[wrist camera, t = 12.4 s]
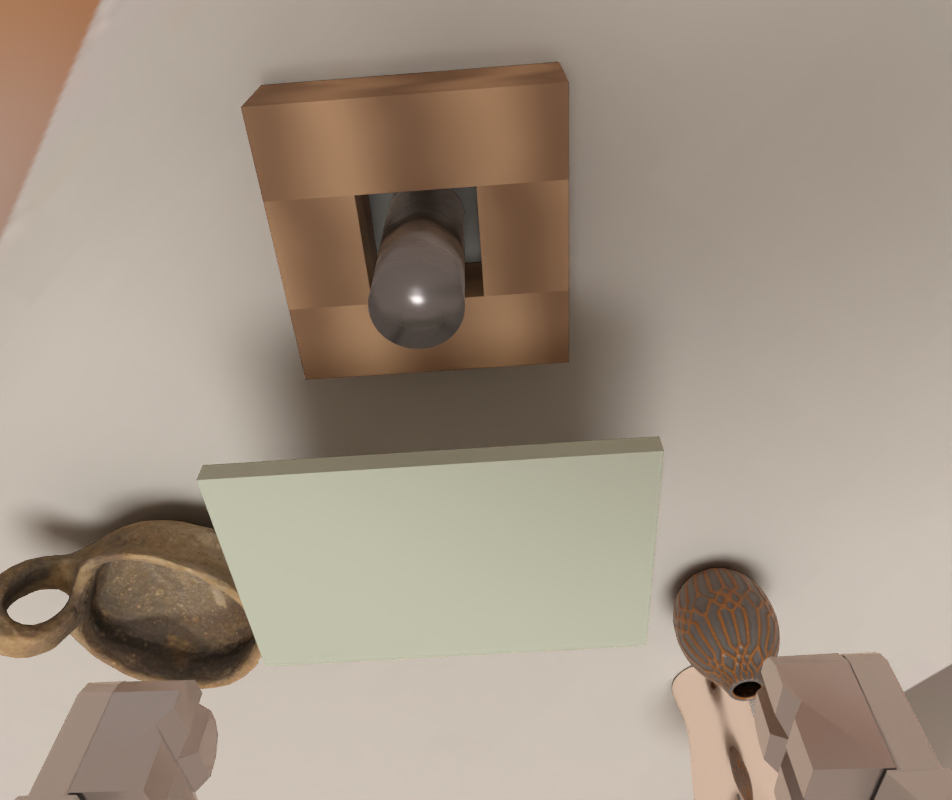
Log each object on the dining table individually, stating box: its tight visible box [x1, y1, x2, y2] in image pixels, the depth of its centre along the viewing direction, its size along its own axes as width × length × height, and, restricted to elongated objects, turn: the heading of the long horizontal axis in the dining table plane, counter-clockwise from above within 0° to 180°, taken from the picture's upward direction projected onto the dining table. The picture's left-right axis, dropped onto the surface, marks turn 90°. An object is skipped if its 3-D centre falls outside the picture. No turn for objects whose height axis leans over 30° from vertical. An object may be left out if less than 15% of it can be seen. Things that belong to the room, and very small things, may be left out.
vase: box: [673, 568, 780, 701], centre depth 53 cm, size 7×7×9 cm
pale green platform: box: [197, 436, 664, 667], centre depth 42 cm, size 20×13×13 cm, turn 94°
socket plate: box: [241, 62, 569, 380], centre depth 38 cm, size 14×14×4 cm
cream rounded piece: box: [672, 666, 778, 800], centre depth 57 cm, size 7×7×15 cm
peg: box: [368, 188, 465, 349], centre depth 36 cm, size 4×4×10 cm
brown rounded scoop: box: [0, 520, 262, 689], centre depth 50 cm, size 14×18×10 cm
